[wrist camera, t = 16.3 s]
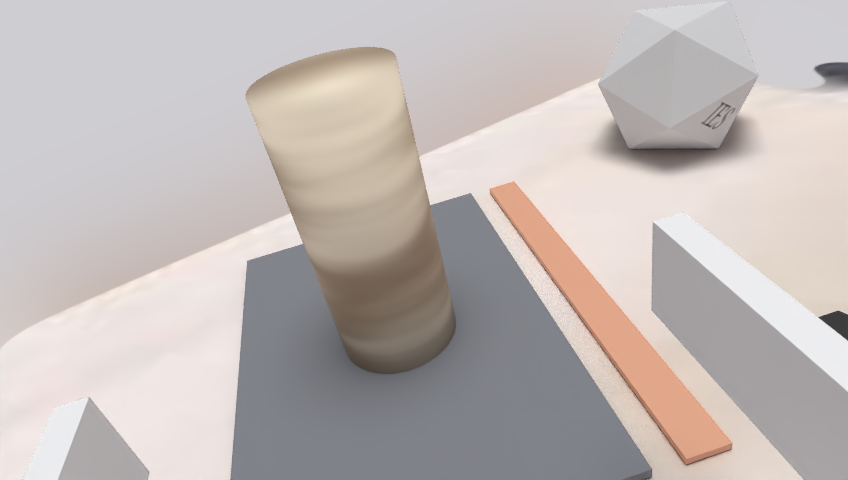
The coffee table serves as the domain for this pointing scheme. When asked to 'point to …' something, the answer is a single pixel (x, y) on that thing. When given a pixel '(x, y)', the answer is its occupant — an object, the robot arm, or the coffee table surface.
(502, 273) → the mat
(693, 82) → the die
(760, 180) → the coffee table surface
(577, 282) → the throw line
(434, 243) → the beige banded cylinder
